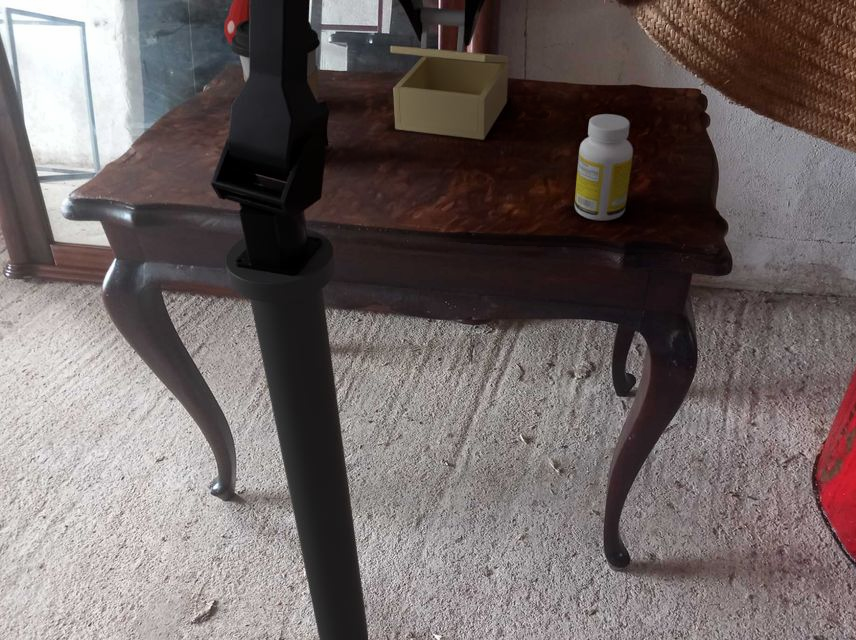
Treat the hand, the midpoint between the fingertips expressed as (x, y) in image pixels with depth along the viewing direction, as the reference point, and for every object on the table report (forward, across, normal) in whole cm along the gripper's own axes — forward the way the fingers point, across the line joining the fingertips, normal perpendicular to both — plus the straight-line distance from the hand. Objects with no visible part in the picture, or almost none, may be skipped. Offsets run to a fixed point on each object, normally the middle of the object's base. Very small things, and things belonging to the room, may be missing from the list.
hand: (445, 43), depth 95 cm
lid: (+3, 0, -3) cm, 4 cm away
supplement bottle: (+10, -22, +17) cm, 30 cm away
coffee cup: (+10, +15, +14) cm, 23 cm away
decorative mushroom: (+10, +24, +1) cm, 26 cm away
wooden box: (+10, 0, -3) cm, 11 cm away
